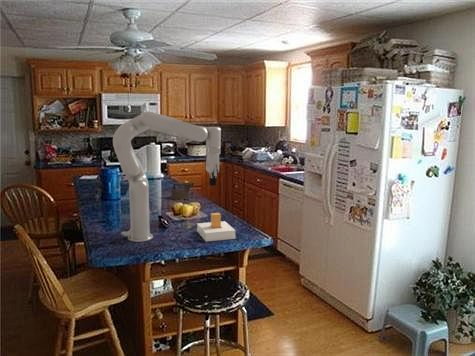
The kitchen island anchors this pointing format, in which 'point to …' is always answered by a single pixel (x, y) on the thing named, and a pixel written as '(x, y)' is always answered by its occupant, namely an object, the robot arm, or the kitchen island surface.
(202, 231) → the socket block
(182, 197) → the clothes iron
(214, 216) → the plug
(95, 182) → the kitchen island surface
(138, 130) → the robot arm
